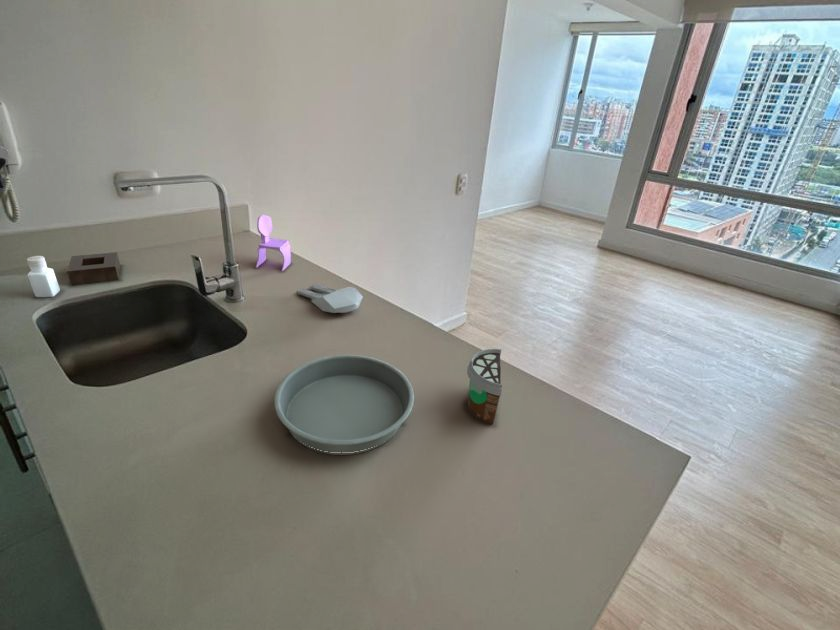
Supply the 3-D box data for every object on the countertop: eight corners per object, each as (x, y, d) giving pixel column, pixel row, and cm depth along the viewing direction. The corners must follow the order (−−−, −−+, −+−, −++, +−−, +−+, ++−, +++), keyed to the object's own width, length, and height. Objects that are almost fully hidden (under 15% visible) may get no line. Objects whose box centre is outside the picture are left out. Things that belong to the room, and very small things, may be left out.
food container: (463, 383, 93) (470, 343, 88) (493, 388, 92) (501, 347, 87) (459, 424, 82) (466, 381, 77) (493, 429, 81) (502, 386, 77)
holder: (71, 285, 114) (66, 271, 112) (76, 269, 122) (71, 256, 120) (119, 280, 119) (115, 266, 117) (120, 265, 126) (116, 252, 124)
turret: (321, 292, 127) (319, 276, 125) (370, 308, 115) (369, 290, 113) (291, 303, 120) (289, 286, 118) (341, 321, 108) (339, 303, 106)
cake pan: (428, 389, 90) (430, 371, 88) (382, 482, 69) (383, 462, 67) (319, 359, 96) (318, 342, 93) (246, 437, 75) (243, 417, 73)
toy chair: (282, 272, 131) (279, 223, 124) (254, 268, 132) (248, 219, 124) (293, 262, 138) (290, 214, 131) (266, 258, 139) (261, 211, 132)
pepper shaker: (34, 298, 107) (20, 261, 103) (43, 290, 111) (29, 255, 106) (54, 297, 108) (41, 261, 104) (61, 290, 112) (49, 254, 107)
